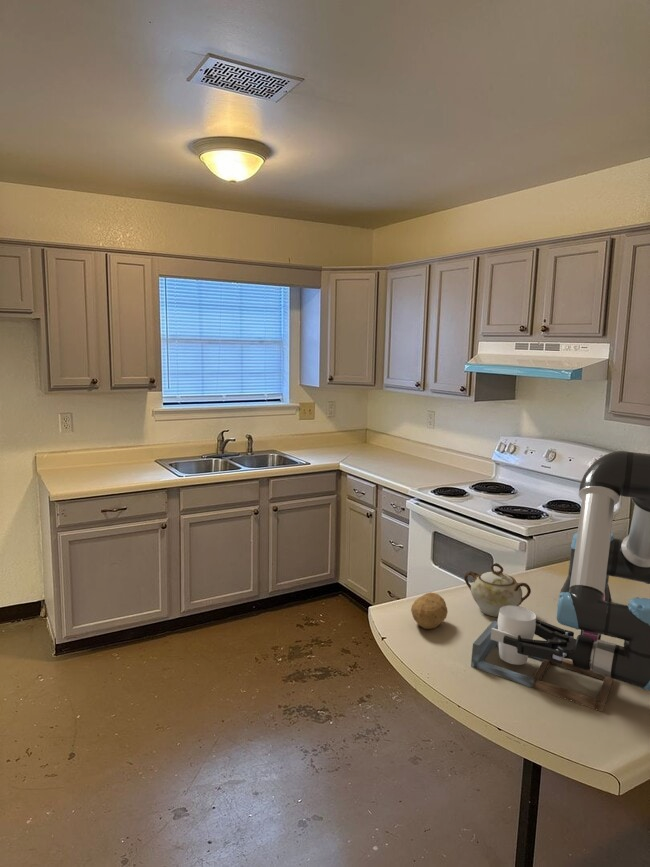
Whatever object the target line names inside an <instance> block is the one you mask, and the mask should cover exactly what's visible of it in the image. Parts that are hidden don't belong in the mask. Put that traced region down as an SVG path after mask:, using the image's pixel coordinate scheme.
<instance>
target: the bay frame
mask: <svg viewBox="0 0 650 867" xmlns="http://www.w3.org/2000/svg"><path fill="white" fill-rule="evenodd" d="M492 628H495V629H498V620H497V621H496V620H492V621H491V623H490V624H489V625H488V626H487V627H486V628H485V630H484V631H483V632H482V633H481V634H480V635H479V636H478V637H477V639H475V641H474V642H473V643H472V650H471V651H472V652H471V660H470V667H471V668H475V669H477V670H480V671H483V672H486V673H489V674H491V675H494V676H497V677H500V678H504V679H507V680H510V681H512V682H514V683H518V684H521V685H523V686H526V687H529V688H532V689H534V690H538V691H541V692H544V693H547V694H550V695H552V694H553V695H552V696H555V695H556V696H555V697H558V696H559V698H561V697H562V699H564V698H566V699H565V700H567V699H568V700H567V701H570V700H572V701H574V702H573V703H575V702H577V703H576V704H578V703H579V704H578V705H581V704H583V705H582V706H584V705H585V707H587V706H588V707H587V708H590V707H591V708H590V709H593V708H594V710H596V709H597V710H596V711H598V710H600V711H599V712H601V711H602V713H603V712H604V710H605V707H604V706H606V704H607V701H606V700H608V698H609V694H610V691H611V688H612V686H613V683H614V679H613V678H610V677H603V675H600V674H597V673H594V672H593V671H592V669H590V670H588V671H587V670H583V669H580V668H577V667H574V666H573V661H572V660H571V659H566V658H563V659H562V664H559V663H556V662H553V661H550V660H546V659H541V658H537V657H532V656H528V658H529V657H531V658H532V659H536V660H539V661H541V664H540V665H539V667H538V669H537V670H536V671H535V674H534V675H533V676H532V677H531V676H528V675H526V674H522V673H520V672H516V671H513V670H510V669H508V668H505V667H502V666H498V665H495V664H493V663H489V662H486V661H484V660H485V659H486V658H487V657H488V656H489V655H490V653H491V652H492V650H494V648H495V647H498V648H499V642H498V641H495V640H491V629H492ZM550 664H552V665H555V666H558V667H561V668H565V669H567V670H571V671H574V672H577V673H580V674H583V675H585V676H589V677H592V678H596V679H599V680H602V681H603V682H602V685H601V687H600V690H599V692H598V695H597V698H593V697H590V696H587V695H585V694H581V693H578V692H576V691H572V690H569V689H567V688H564V687H562V686H561V687H560V686H558V685H554V684H552V683H549V682H546V681H542V678H543V676H544V675H545V673H546V671H547V669H548V668H549V666H550ZM572 701H571V702H572ZM605 703H606V704H605ZM603 709H604V710H603Z"/></svg>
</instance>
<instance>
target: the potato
mask: <svg viewBox="0 0 650 867" xmlns="http://www.w3.org/2000/svg"><path fill="white" fill-rule="evenodd" d="M410 611H411V614H412V618H413V620H414V621H415V622H416V624H417V625H418V626H419V627H421V628H423V629H425V630H429V629H430V630H431V629H435V628H437V627H438V626H439V625H440V624H441V623H443V622H444V621H445V619H447V615H448V612H449V611H448V607H447V604H446V601H445V599H444V598H443V597H442V596H441V595H440V594H438V593H436V592H426V593H425V594H423V595H421V596H420V597H418V598H417V599H415V600H414V602H413V604H411V608H410Z"/></svg>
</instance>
